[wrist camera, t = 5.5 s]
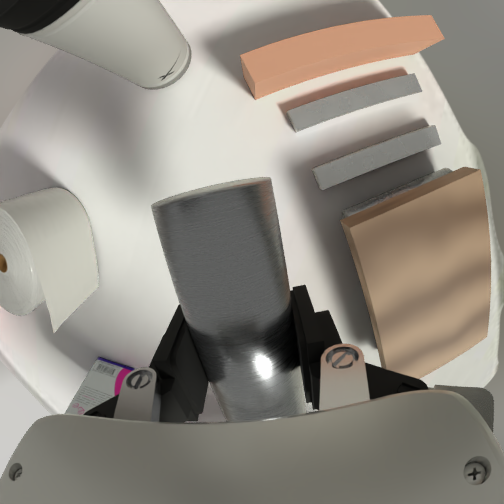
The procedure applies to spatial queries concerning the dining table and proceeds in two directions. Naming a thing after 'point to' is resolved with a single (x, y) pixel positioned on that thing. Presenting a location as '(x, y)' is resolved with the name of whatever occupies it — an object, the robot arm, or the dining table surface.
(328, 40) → the bar
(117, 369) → the supplement box
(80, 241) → the toilet tissue
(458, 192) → the slab
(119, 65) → the travel mug
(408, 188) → the cylinder
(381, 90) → the cradle
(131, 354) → the dining table surface
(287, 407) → the roller
